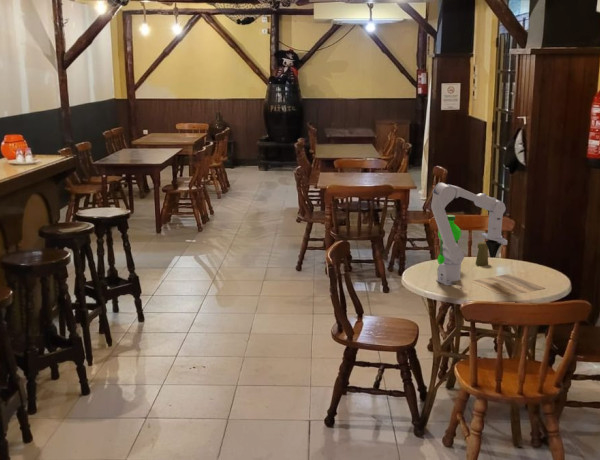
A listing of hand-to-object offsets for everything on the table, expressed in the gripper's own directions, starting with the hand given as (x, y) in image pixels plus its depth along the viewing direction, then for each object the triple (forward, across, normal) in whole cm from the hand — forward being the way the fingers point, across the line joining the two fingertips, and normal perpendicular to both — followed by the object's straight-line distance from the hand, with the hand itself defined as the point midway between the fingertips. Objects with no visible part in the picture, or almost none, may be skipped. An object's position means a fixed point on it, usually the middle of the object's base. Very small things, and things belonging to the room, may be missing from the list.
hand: (492, 257), depth 295 cm
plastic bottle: (+11, +23, +6) cm, 26 cm away
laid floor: (+10, -12, +6) cm, 17 cm away
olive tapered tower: (+11, +20, -12) cm, 26 cm away
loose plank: (+10, -12, -5) cm, 17 cm away
